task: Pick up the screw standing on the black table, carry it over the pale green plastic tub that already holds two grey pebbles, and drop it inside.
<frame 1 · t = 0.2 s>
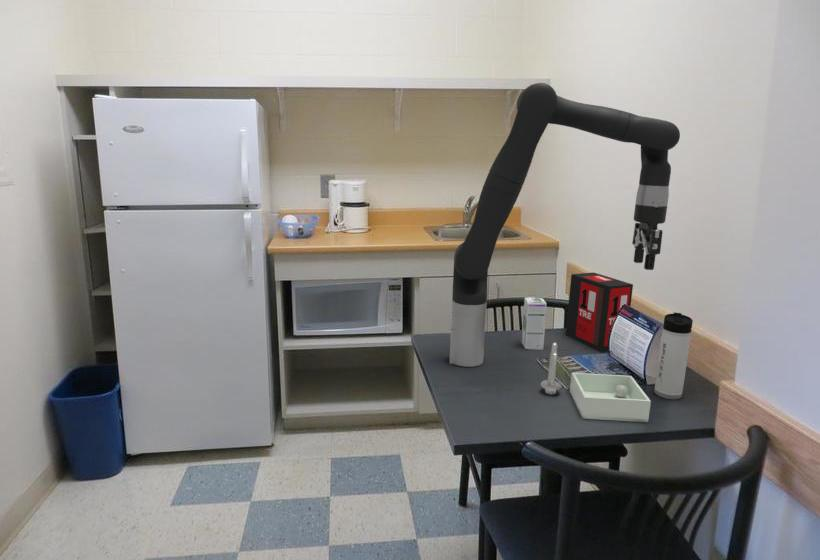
hand: (643, 266, 150), 29 cm above the table, tool pointing down, fingers open, 8 cm apart
travel mug: (667, 394, 142), on the table
syrup box: (531, 347, 173), on the table
pebble b: (631, 413, 130), point 1 cm above the table, touching tub
tub: (606, 406, 134), on the table
pebble a: (620, 396, 138), point 1 cm above the table, touching tub
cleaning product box: (594, 342, 179), on the table
screw: (550, 393, 141), on the table
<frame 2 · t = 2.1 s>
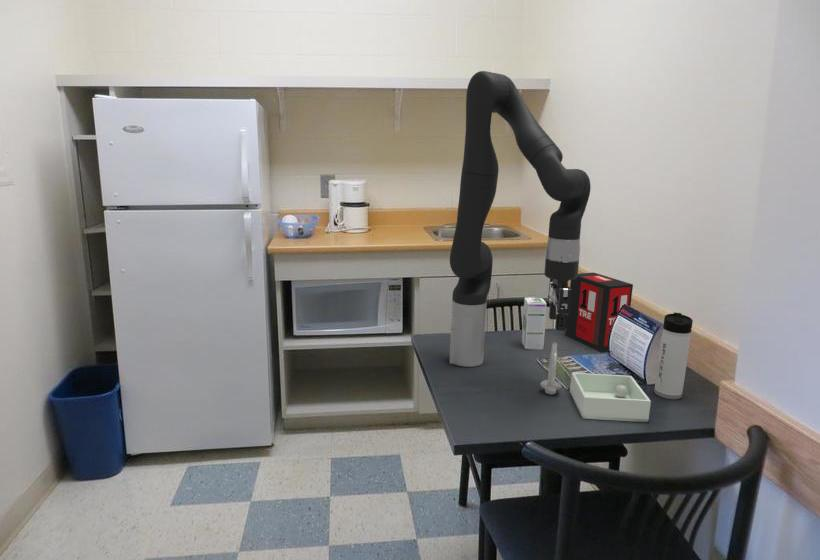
hand: (556, 324, 137), 17 cm above the table, tool pointing down, fingers open, 8 cm apart
nothing on the table moved.
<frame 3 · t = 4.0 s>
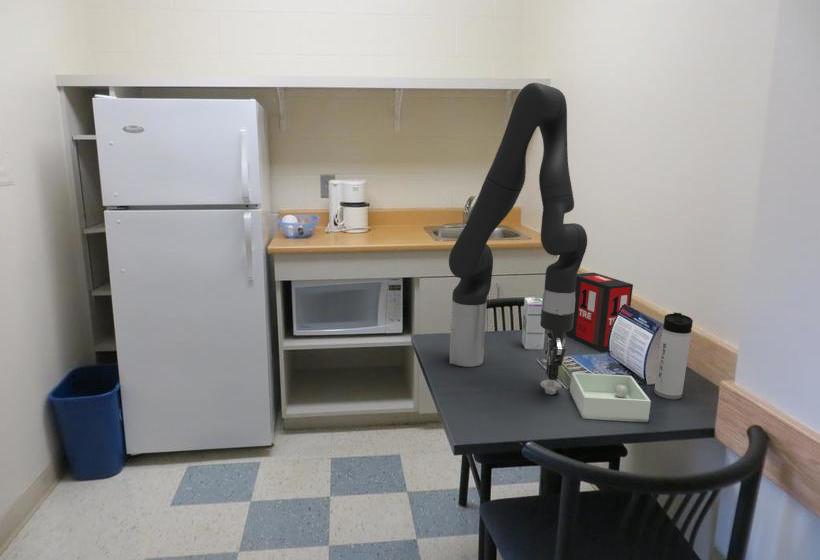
hand: (551, 376, 140), 4 cm above the table, tool pointing down, fingers closed on screw, 2 cm apart
screw: (550, 393, 141), on the table, touching gripper
everything else where it was.
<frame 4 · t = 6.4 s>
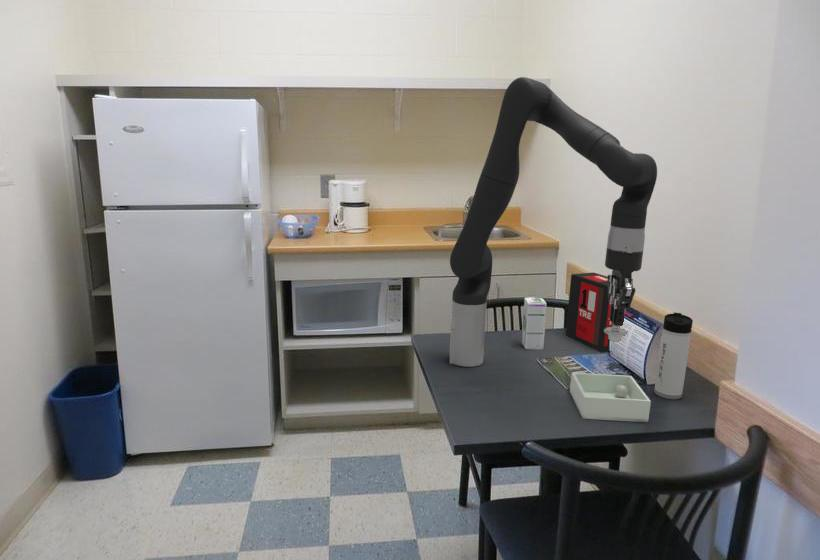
hand: (616, 323, 130), 20 cm above the table, tool pointing down, fingers closed on screw
screw: (614, 340, 131), point 16 cm above the table, touching gripper
everything else where it was.
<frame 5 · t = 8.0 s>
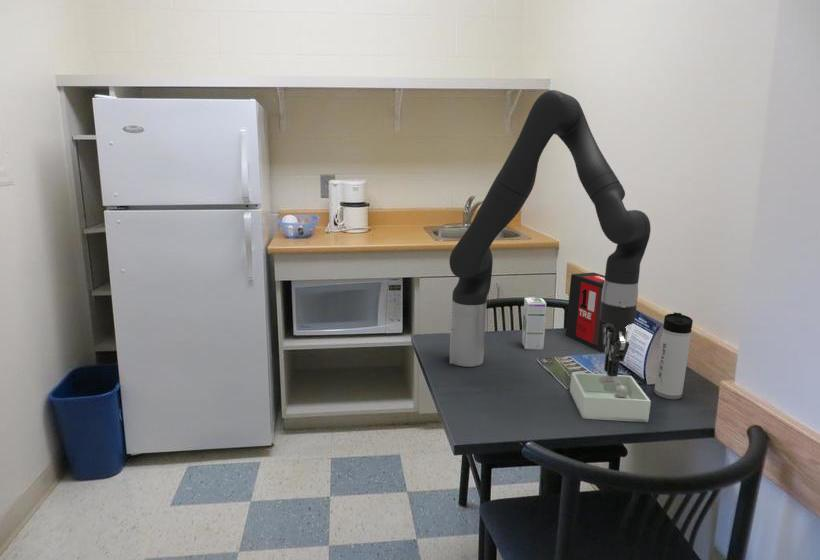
hand: (610, 373, 133), 8 cm above the table, tool pointing down, fingers closed on screw
screw: (609, 390, 134), point 4 cm above the table, touching gripper
everything else where it was.
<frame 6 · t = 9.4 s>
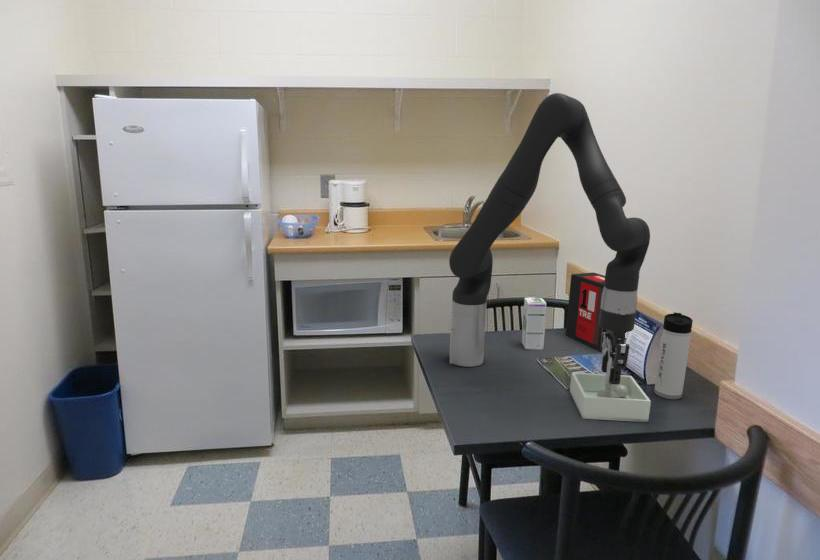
hand: (610, 377, 133), 7 cm above the table, tool pointing down, fingers open, 6 cm apart
screw: (606, 404, 134), resting in tub
everything else where it was.
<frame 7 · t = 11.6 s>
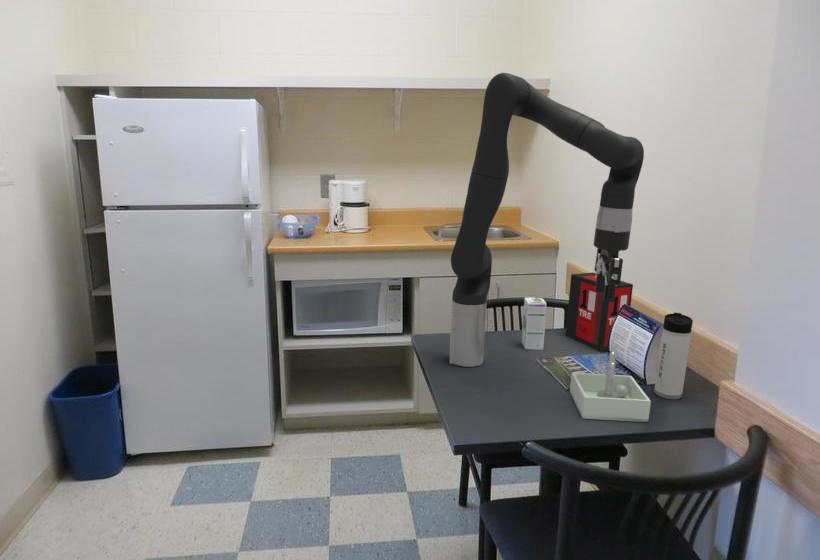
hand: (603, 296, 134), 25 cm above the table, tool pointing down, fingers open, 8 cm apart
nothing on the table moved.
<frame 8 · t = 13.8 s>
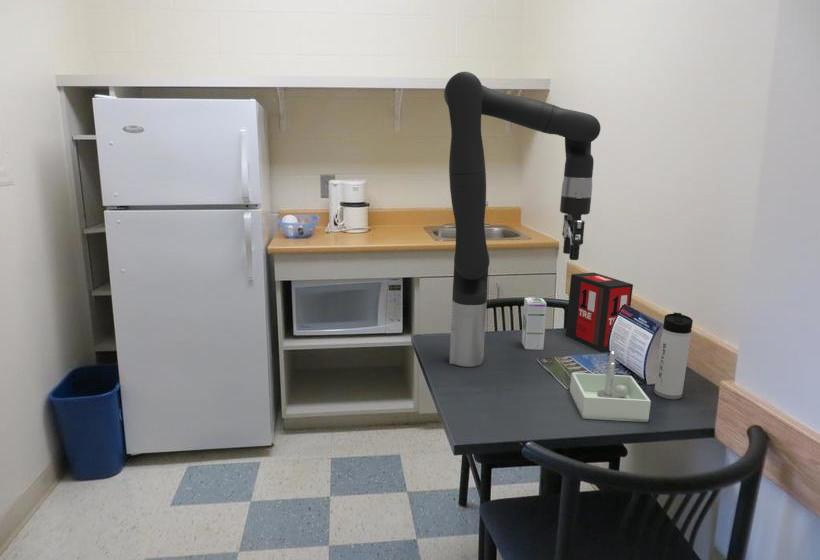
hand: (570, 256, 153), 30 cm above the table, tool pointing down, fingers open, 8 cm apart
nothing on the table moved.
at the end: screw inside the target area on the tub (0.2 cm from its centre), point 0.4 cm above the tub's base; the gripper is holding nothing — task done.
